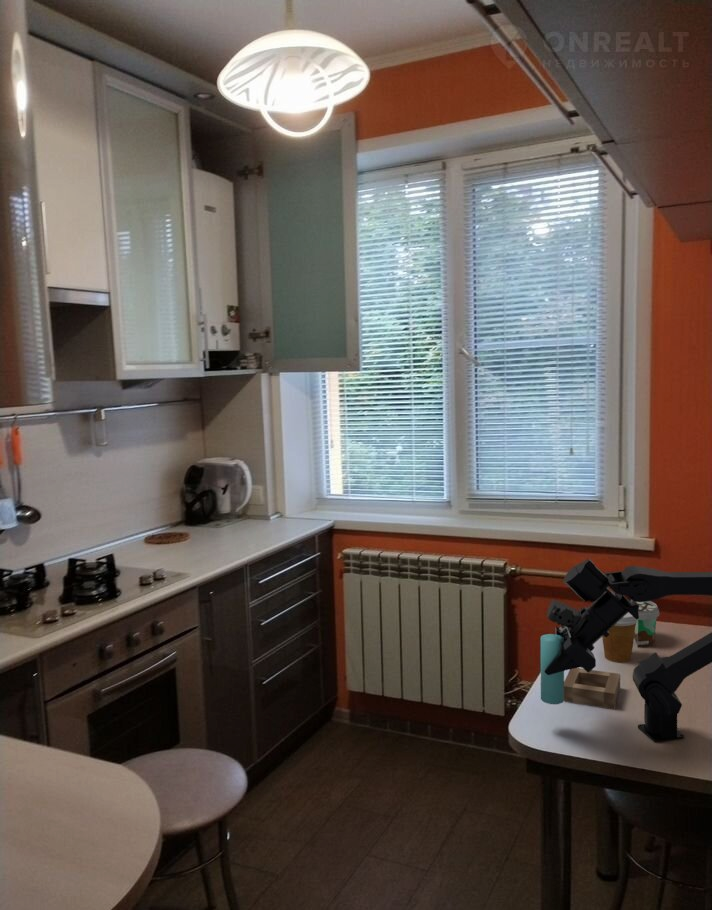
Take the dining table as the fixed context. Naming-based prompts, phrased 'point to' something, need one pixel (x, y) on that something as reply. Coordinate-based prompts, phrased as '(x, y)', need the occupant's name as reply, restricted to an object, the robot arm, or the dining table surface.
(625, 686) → the dining table surface
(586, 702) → the block
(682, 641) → the dining table surface
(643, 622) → the food container
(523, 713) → the dining table surface
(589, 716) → the dining table surface
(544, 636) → the peg
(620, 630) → the disposable coffee cup
